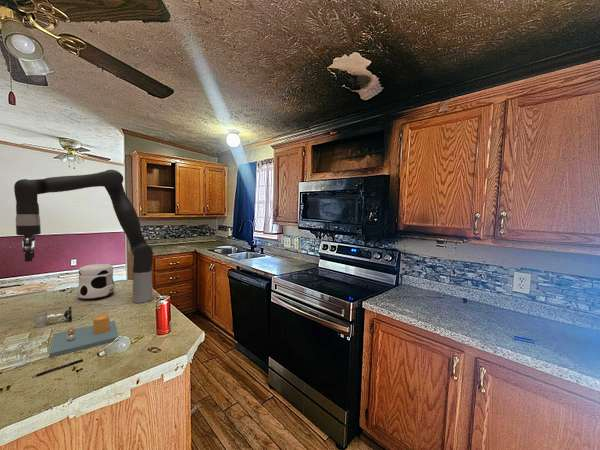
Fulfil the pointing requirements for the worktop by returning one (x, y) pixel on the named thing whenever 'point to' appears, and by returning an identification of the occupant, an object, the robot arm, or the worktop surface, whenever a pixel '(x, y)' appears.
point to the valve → (49, 317)
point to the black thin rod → (57, 368)
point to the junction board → (81, 339)
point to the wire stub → (71, 335)
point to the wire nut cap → (101, 323)
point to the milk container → (95, 281)
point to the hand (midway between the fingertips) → (29, 259)
